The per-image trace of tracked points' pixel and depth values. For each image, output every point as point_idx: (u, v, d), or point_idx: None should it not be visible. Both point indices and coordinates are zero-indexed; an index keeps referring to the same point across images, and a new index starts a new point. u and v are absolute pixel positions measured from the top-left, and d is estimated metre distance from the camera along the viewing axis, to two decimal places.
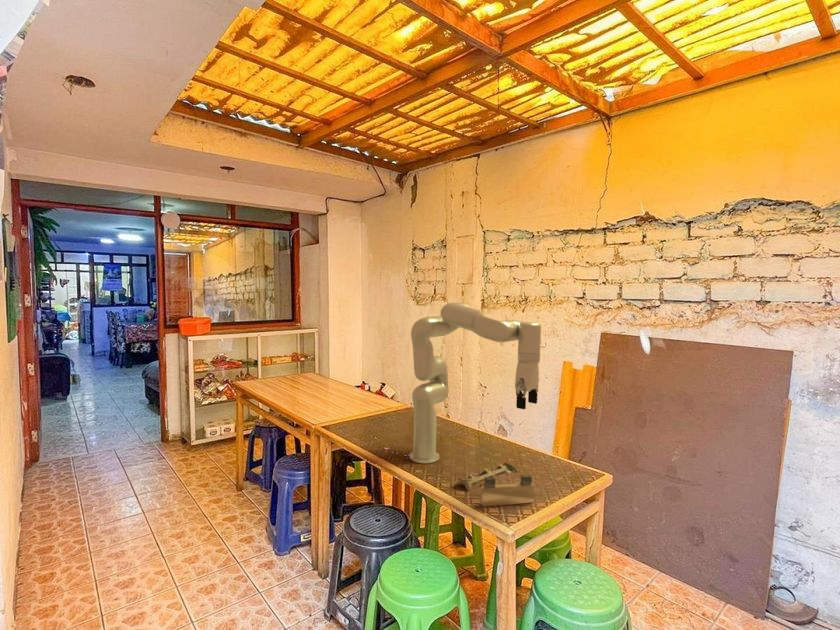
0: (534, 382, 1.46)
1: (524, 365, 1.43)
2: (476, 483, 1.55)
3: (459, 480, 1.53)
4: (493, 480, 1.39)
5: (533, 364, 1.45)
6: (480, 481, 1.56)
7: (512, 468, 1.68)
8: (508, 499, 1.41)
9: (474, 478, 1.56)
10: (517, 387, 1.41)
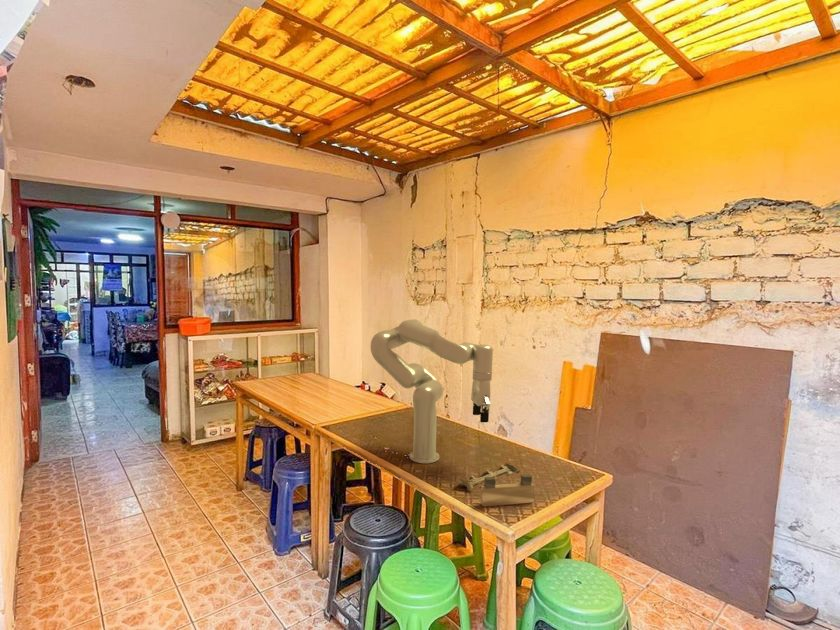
0: None
1: (487, 383, 1.64)
2: (478, 484, 1.54)
3: (461, 481, 1.53)
4: (493, 480, 1.39)
5: None
6: (482, 482, 1.55)
7: (513, 469, 1.68)
8: (508, 499, 1.41)
9: (476, 479, 1.56)
10: (488, 404, 1.60)
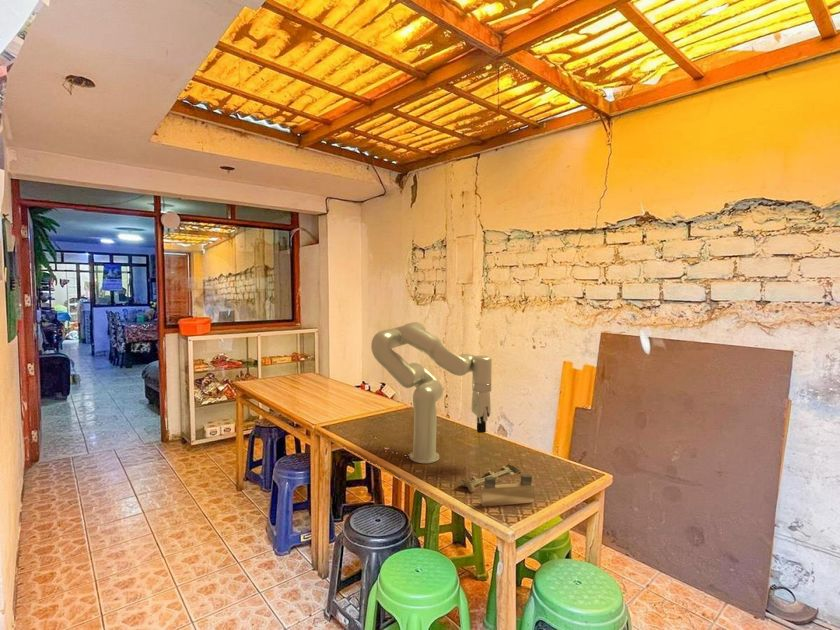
0: None
1: (487, 394, 1.64)
2: (479, 485, 1.53)
3: (462, 482, 1.52)
4: (493, 480, 1.39)
5: None
6: (483, 483, 1.55)
7: (515, 470, 1.67)
8: (508, 499, 1.41)
9: (477, 480, 1.55)
10: (486, 420, 1.64)
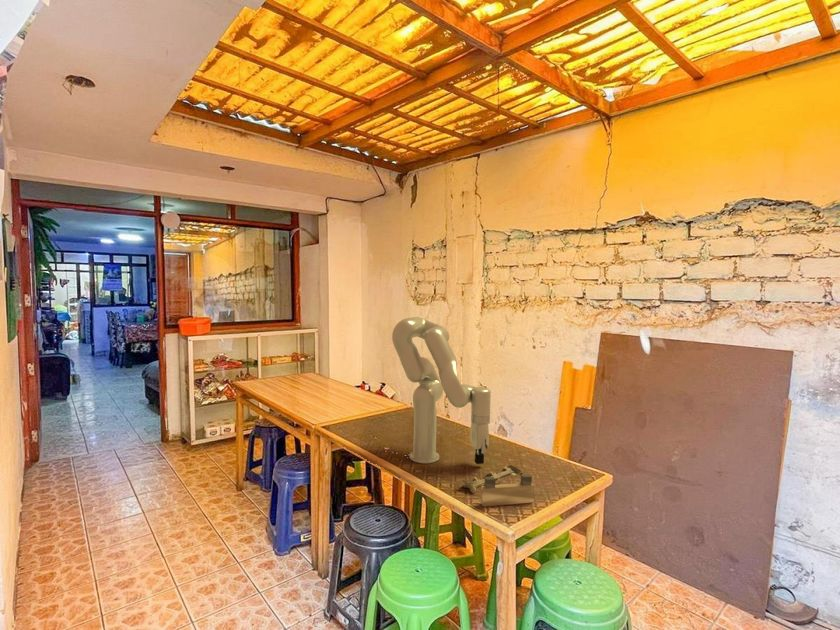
0: None
1: (485, 426, 1.65)
2: (481, 486, 1.52)
3: (464, 483, 1.51)
4: (493, 480, 1.39)
5: None
6: None
7: (517, 470, 1.66)
8: (508, 499, 1.41)
9: (479, 481, 1.54)
10: (484, 452, 1.65)
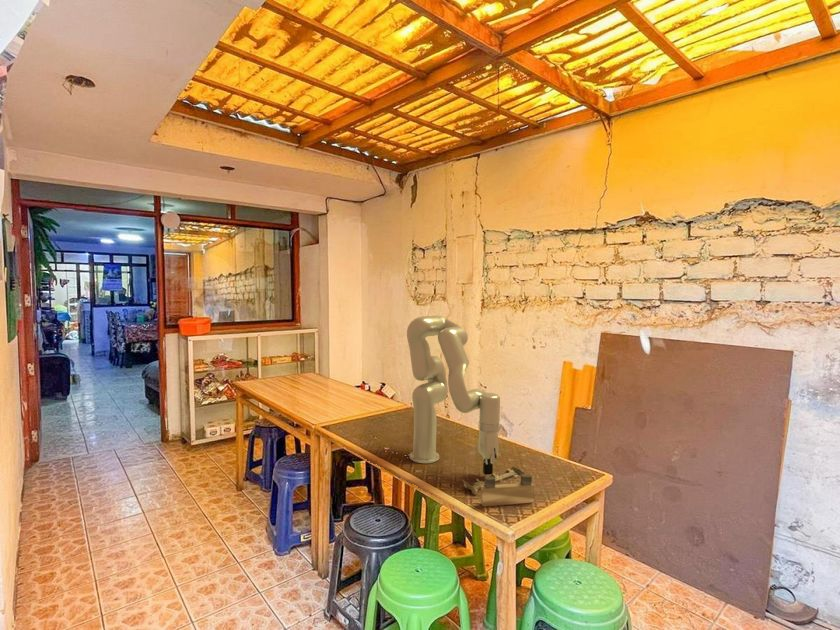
0: None
1: (495, 435, 1.55)
2: None
3: (465, 484, 1.51)
4: (493, 480, 1.39)
5: None
6: None
7: (520, 472, 1.65)
8: (508, 499, 1.41)
9: (481, 482, 1.53)
10: None
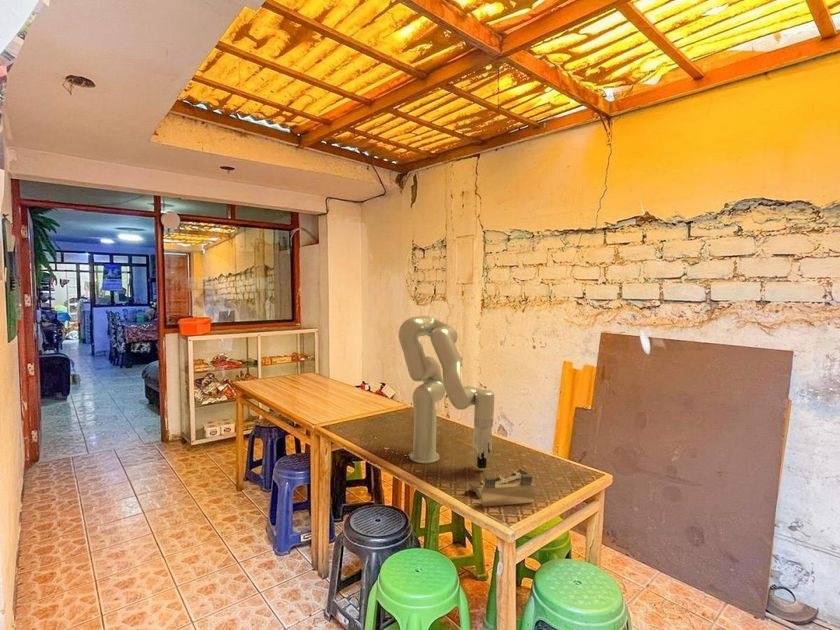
0: None
1: (488, 430, 1.61)
2: None
3: (470, 486, 1.49)
4: (493, 480, 1.39)
5: None
6: None
7: None
8: (508, 499, 1.41)
9: None
10: (487, 457, 1.61)
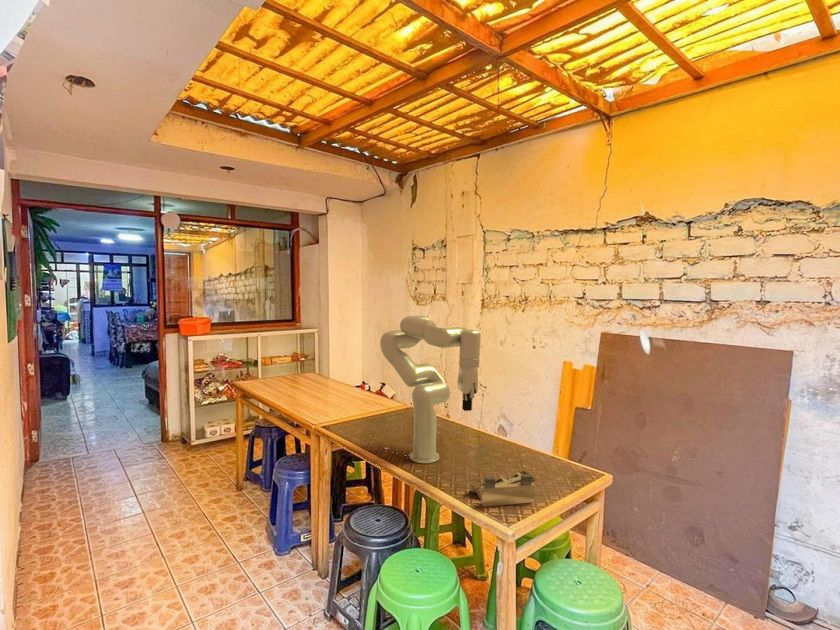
0: None
1: (474, 370, 1.55)
2: None
3: (471, 487, 1.48)
4: (493, 480, 1.39)
5: None
6: None
7: None
8: (508, 499, 1.41)
9: None
10: (473, 397, 1.55)
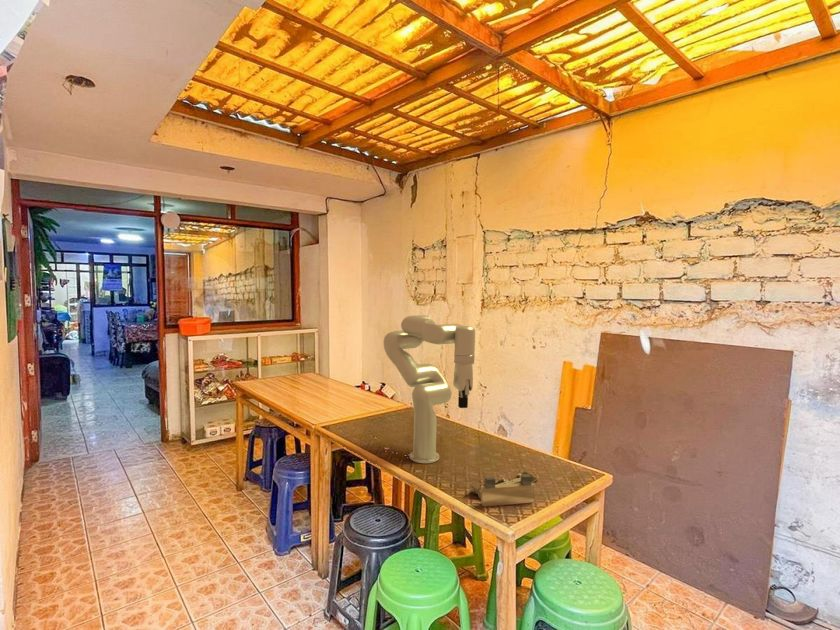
0: None
1: (469, 366, 1.53)
2: None
3: (472, 488, 1.48)
4: (493, 480, 1.39)
5: None
6: None
7: (532, 478, 1.60)
8: (508, 499, 1.41)
9: None
10: (467, 394, 1.53)
